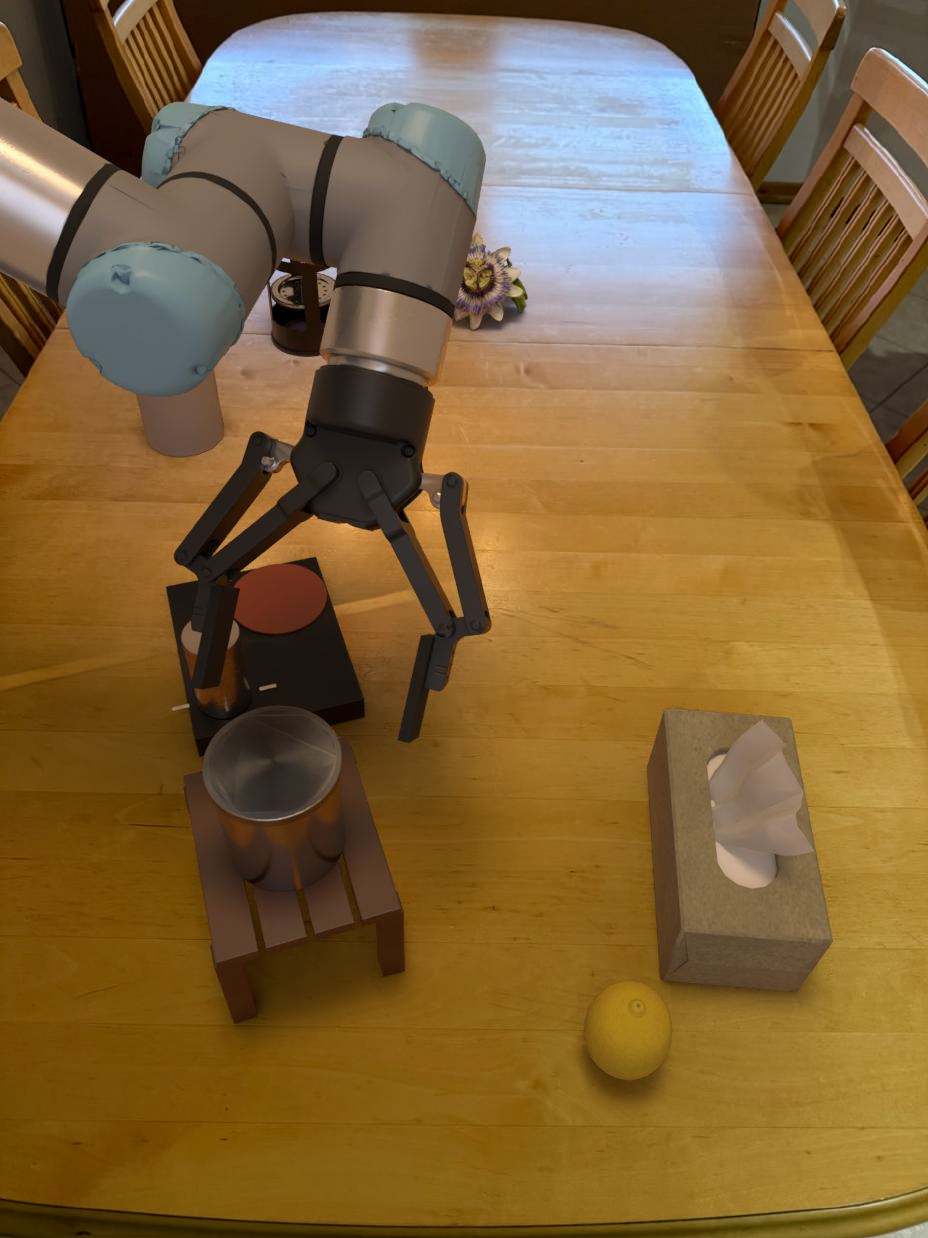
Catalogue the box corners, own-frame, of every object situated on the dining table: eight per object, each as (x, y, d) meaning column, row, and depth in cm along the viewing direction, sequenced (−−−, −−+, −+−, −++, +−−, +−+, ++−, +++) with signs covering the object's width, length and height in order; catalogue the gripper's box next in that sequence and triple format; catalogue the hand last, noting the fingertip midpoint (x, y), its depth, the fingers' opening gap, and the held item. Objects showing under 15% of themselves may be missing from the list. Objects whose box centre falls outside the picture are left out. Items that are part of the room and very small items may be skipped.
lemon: (658, 1104, 64) (682, 1060, 58) (573, 1087, 65) (588, 1042, 59) (661, 1019, 68) (684, 970, 62) (581, 1004, 68) (596, 954, 62)
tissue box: (799, 997, 69) (877, 889, 58) (660, 985, 69) (708, 875, 58) (764, 772, 82) (821, 647, 70) (646, 762, 82) (684, 636, 71)
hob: (156, 607, 92) (150, 587, 90) (317, 574, 96) (315, 555, 94) (184, 769, 80) (179, 750, 78) (367, 724, 84) (366, 705, 82)
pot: (214, 803, 67) (192, 723, 60) (333, 773, 69) (324, 692, 62) (235, 912, 61) (213, 837, 55) (363, 875, 63) (357, 799, 57)
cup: (131, 437, 109) (110, 358, 102) (185, 402, 114) (169, 324, 107) (186, 466, 106) (168, 387, 99) (239, 429, 111) (227, 351, 103)
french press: (272, 361, 120) (249, 170, 103) (260, 321, 126) (236, 134, 109) (367, 348, 123) (359, 160, 106) (350, 310, 129) (340, 126, 112)
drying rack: (202, 849, 75) (179, 775, 68) (356, 808, 78) (350, 734, 71) (234, 1027, 66) (211, 964, 59) (406, 973, 69) (405, 907, 62)
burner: (221, 575, 92) (221, 574, 92) (315, 557, 94) (315, 555, 94) (238, 644, 86) (238, 642, 86) (337, 622, 88) (337, 621, 88)
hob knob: (194, 684, 83) (176, 616, 77) (246, 672, 84) (233, 605, 78) (202, 724, 80) (184, 658, 74) (256, 711, 81) (243, 645, 75)
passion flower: (473, 363, 131) (424, 307, 122) (460, 307, 137) (412, 249, 127) (547, 321, 127) (503, 259, 118) (531, 265, 133) (487, 202, 123)
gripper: (580, 427, 62) (505, 752, 63) (216, 355, 66) (152, 662, 68) (572, 403, 55) (488, 772, 56) (164, 324, 59) (93, 669, 60)
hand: (304, 713), depth 62 cm, fingers open, 13 cm apart
